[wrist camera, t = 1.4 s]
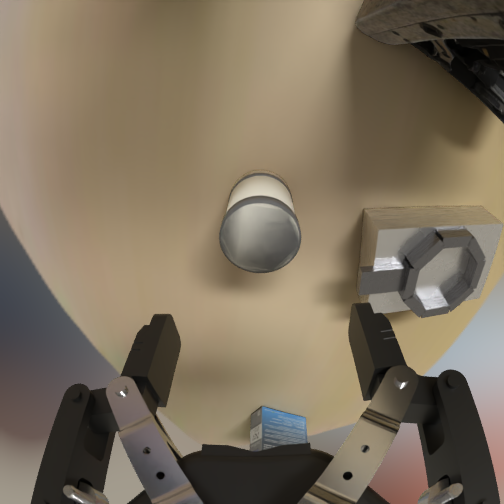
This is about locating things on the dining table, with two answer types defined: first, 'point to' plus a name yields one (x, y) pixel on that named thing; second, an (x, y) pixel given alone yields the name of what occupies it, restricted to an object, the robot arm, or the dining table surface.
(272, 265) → the cream grey cylinder
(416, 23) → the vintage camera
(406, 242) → the octagonal ring slab
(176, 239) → the dining table surface
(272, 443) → the blue printed box
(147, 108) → the dining table surface
